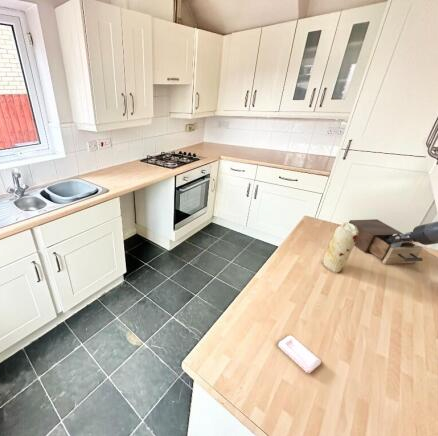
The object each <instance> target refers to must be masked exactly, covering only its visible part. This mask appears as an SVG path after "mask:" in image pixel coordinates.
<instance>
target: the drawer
mask: <svg viewBox="0 0 438 436" xmlns="http://www.w3.org/2000/svg"><path fill="white" fill-rule="evenodd" d="M389 237H391V236H374V239H373V241H372V242H371V244H370V246H369V248H368V251H370V252H371V253H370V254H372V255H374V256H375V257H376V258H378V259H379V260H382V263H383V264H384V265H386V264H387V265H390V264H391V265H393V264H414V262H423V260H424V259H423V257H419V255H420V253H421V252H422V250H423V247H422V246H420V245H416V244H415V243H410V242H408V243H402V244H401V246H400V247H391V245H389V244H388V243H386V242H384V239H388V238H389ZM390 247H391V248H390ZM389 248H390V249H389ZM388 250H389V251H388ZM387 252H388V253H387Z"/></svg>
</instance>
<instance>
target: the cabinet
mask: <svg viewBox="0 0 438 436" xmlns="http://www.w3.org/2000/svg"><path fill="white" fill-rule="evenodd" d="M348 223H350V224H353V225H355V226H356V227H357V229H358V232H359V233H358V236H357V239H356V242H355V244H354V246H355V247H356V248H357V249H359V250H360V251H362V252H363V253H364V254H367V253H369V254H372V253H371V252H370V251H368V248H369V246H370V244H371V242H372V241H373V239H374V236H393V235H394V234H398V235H399V234H404V233H403V232H401V231H400V230H398V229H395V228H394V227H392V226H390V225H388V224H387V223H385V222H383V221H381V220H380V219H375V218H373V219H371V218H370V219H350V220H349V221H348Z"/></svg>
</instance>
